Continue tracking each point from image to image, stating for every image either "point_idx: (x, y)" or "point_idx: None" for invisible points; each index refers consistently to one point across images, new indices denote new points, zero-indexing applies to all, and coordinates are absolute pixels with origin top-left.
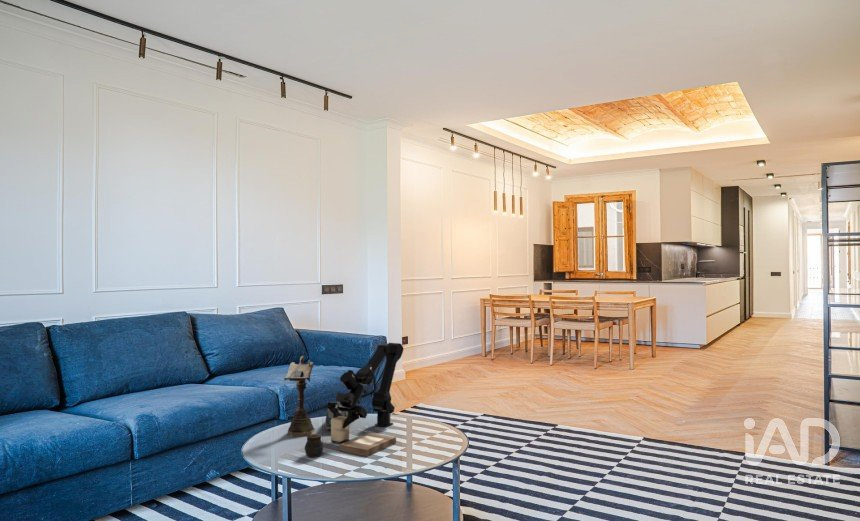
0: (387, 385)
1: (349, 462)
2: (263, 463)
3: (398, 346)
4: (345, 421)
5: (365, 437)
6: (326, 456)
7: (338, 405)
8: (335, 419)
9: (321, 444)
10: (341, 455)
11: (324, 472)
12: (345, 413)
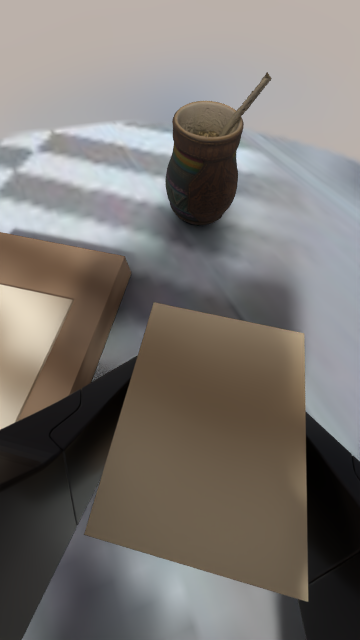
0: None
1: (57, 190)
2: (290, 141)
3: None
4: (117, 379)
5: (8, 400)
6: (153, 214)
7: None
8: (233, 326)
9: (168, 167)
10: (105, 233)
11: (104, 130)
12: None
